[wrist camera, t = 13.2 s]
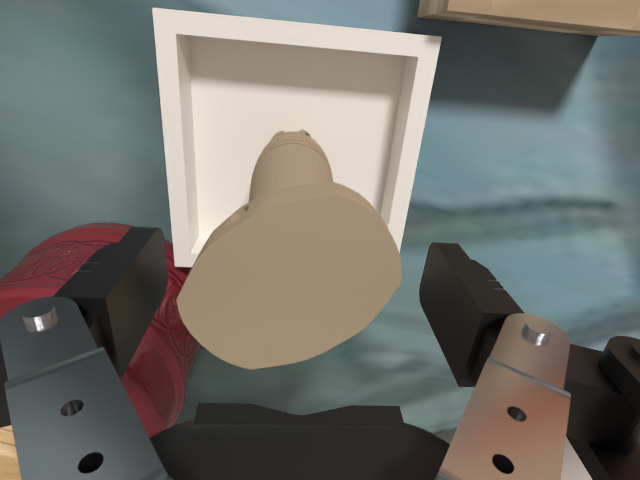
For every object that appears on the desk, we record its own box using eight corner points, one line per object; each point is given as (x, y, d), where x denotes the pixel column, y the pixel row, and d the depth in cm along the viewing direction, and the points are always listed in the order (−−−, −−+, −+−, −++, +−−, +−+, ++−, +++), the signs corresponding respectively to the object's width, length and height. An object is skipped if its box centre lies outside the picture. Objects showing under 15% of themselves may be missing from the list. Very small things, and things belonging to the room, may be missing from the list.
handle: (357, 155, 25) (430, 293, 11) (275, 210, 26) (252, 391, 13) (313, 87, 23) (339, 157, 9) (227, 150, 24) (141, 290, 11)
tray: (173, 13, 22) (152, 7, 18) (422, 37, 23) (441, 36, 20) (188, 241, 28) (174, 266, 25) (384, 251, 29) (394, 276, 26)
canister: (183, 203, 27) (16, 437, 11) (231, 349, 32) (168, 641, 17) (-5, 233, 27) (-438, 505, 11) (76, 373, 33) (-132, 683, 17)
